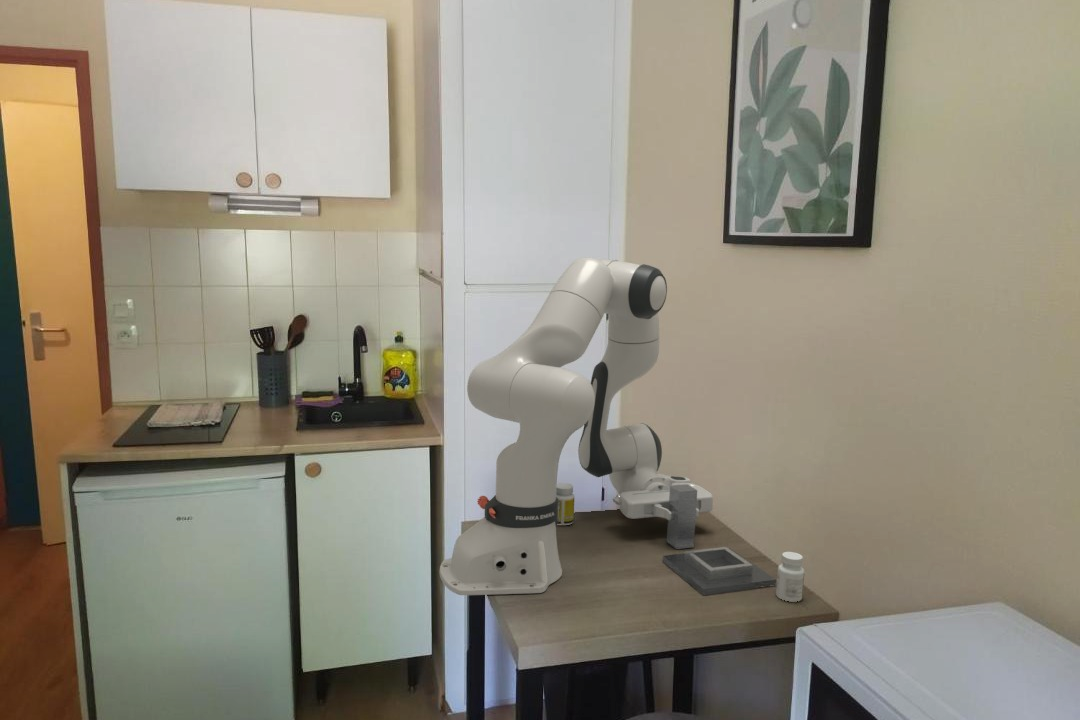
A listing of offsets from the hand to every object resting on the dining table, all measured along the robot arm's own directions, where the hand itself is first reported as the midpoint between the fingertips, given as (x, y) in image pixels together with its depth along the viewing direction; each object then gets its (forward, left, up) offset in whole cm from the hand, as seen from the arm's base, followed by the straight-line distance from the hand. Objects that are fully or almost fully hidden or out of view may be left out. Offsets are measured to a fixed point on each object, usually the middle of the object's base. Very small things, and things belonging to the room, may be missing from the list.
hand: (684, 515), depth 154 cm
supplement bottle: (-19, +19, -7) cm, 28 cm away
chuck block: (0, -13, -7) cm, 15 cm away
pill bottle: (+7, -25, -7) cm, 27 cm away
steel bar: (0, +1, -6) cm, 7 cm away
